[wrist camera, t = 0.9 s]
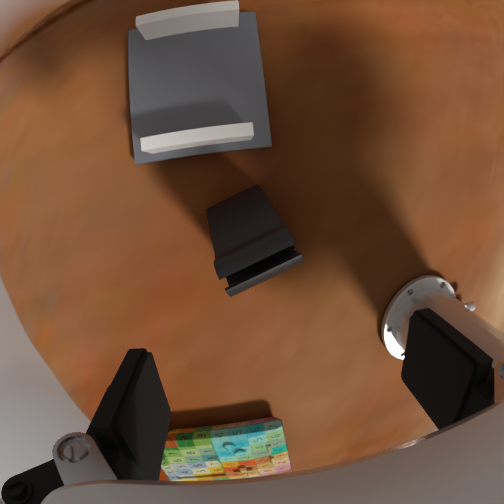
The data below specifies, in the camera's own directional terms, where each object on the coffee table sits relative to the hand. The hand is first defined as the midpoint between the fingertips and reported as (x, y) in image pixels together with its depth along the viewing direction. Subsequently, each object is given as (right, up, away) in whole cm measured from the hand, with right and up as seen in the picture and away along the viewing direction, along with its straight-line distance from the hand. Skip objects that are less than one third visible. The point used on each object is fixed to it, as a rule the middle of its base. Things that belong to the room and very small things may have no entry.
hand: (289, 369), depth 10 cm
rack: (-7, +22, +19) cm, 30 cm away
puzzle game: (-6, -26, +32) cm, 41 cm away
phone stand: (-1, +6, +24) cm, 24 cm away
